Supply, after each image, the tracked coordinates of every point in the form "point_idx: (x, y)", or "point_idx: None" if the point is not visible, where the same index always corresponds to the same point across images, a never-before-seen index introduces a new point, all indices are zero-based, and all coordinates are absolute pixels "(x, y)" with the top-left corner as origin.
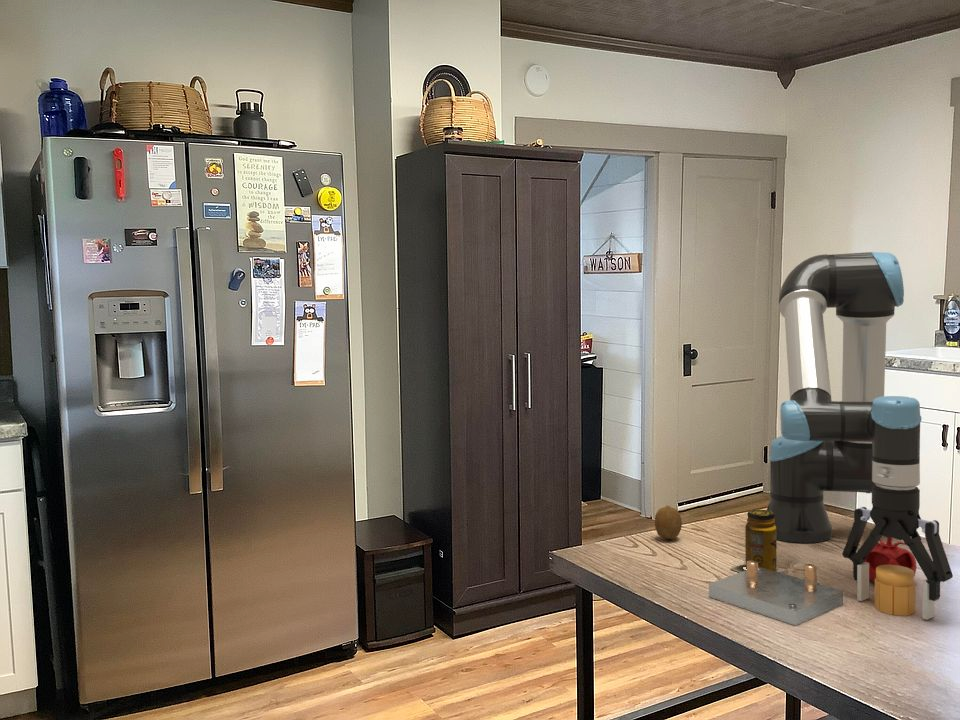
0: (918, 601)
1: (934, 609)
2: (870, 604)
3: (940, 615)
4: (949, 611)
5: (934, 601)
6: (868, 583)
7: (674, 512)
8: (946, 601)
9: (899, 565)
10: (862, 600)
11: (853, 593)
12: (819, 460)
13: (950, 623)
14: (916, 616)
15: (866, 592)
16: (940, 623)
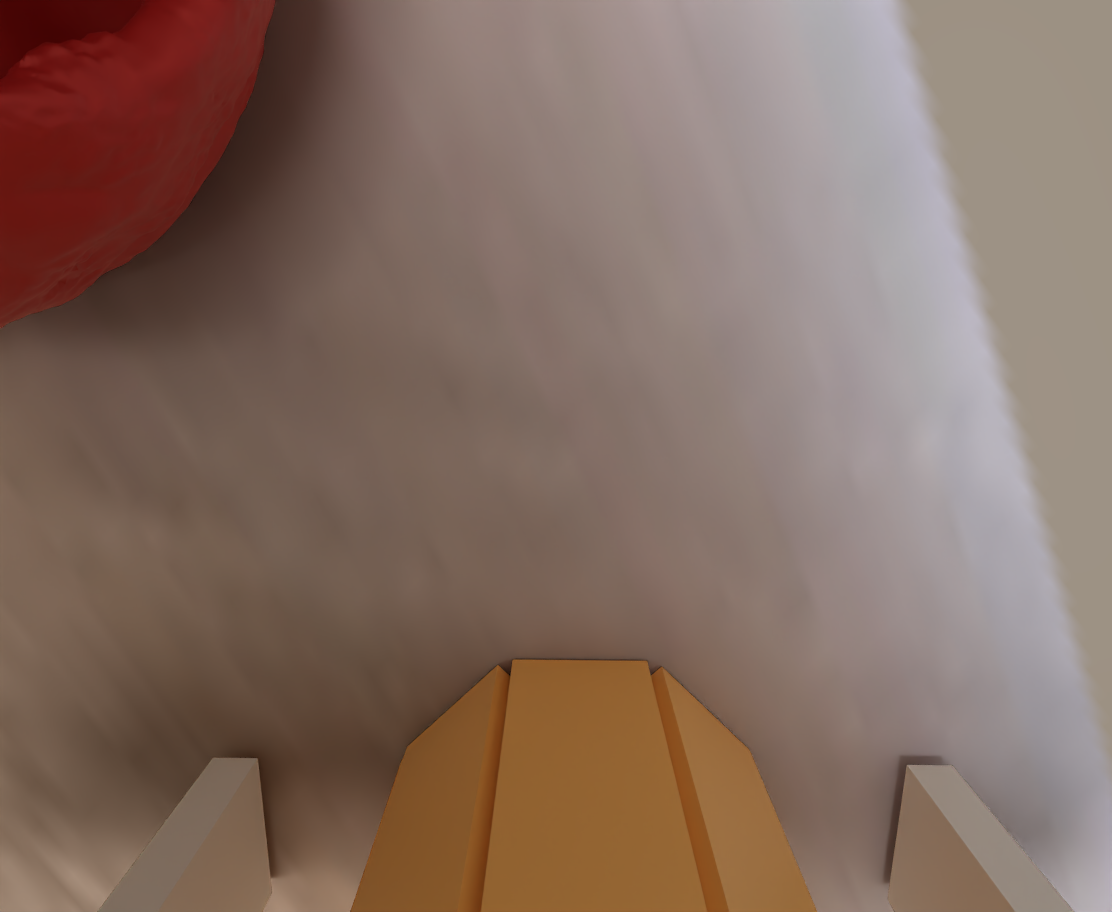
0: (646, 441)
1: (996, 821)
2: (360, 860)
3: (970, 665)
4: (1010, 492)
5: (1063, 903)
6: (167, 910)
7: None
8: (886, 188)
9: (46, 113)
10: (267, 870)
11: (65, 713)
12: None
13: (1104, 786)
14: (804, 840)
15: (229, 859)
16: (1030, 845)
